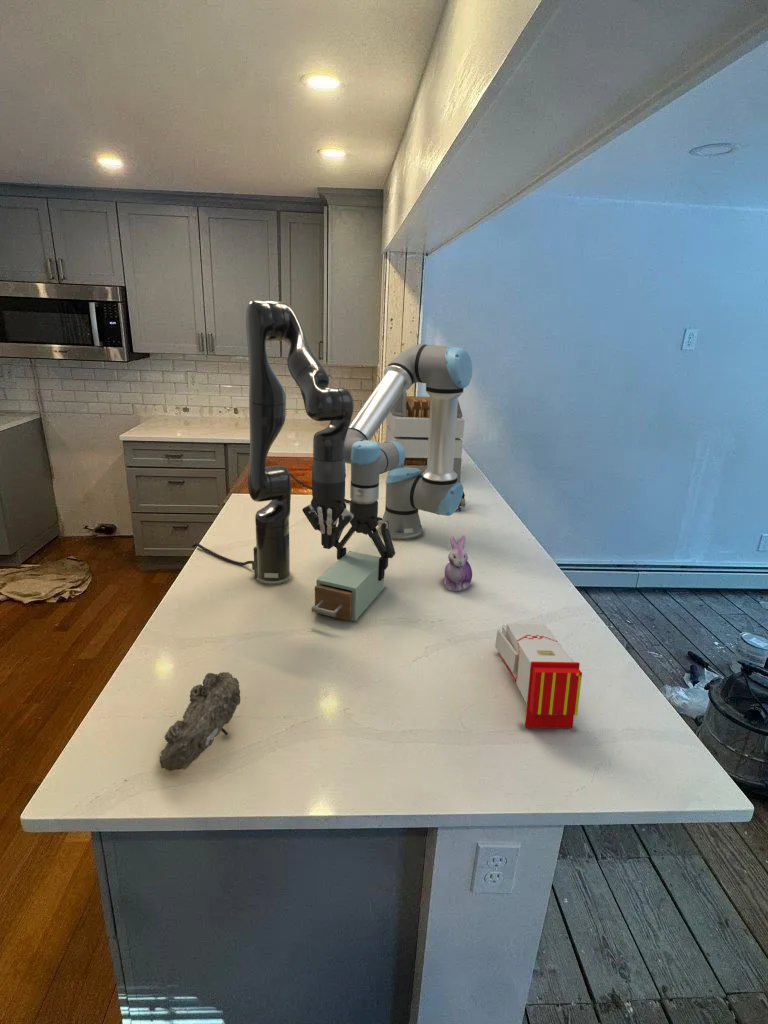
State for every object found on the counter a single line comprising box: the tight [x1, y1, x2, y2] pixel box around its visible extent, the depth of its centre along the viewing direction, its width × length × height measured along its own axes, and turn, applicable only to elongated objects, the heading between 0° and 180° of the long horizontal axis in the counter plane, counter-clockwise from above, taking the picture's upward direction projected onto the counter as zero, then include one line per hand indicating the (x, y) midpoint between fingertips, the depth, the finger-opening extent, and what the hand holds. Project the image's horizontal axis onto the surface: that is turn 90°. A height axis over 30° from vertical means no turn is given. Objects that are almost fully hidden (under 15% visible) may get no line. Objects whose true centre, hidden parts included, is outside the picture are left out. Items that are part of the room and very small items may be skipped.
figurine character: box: [457, 490, 466, 511], centre depth 229 cm, size 7×8×15 cm
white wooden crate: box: [383, 390, 465, 483], centre depth 268 cm, size 34×33×41 cm
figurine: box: [443, 534, 473, 592], centre depth 162 cm, size 9×10×15 cm
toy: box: [494, 623, 583, 729], centre depth 120 cm, size 12×13×30 cm
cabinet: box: [316, 550, 386, 622], centre depth 152 cm, size 20×11×9 cm, turn 159°
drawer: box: [311, 584, 352, 622], centre depth 148 cm, size 24×10×7 cm, turn 159°
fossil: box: [159, 671, 241, 772], centre depth 102 cm, size 22×10×15 cm
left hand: (328, 547), depth 134 cm, fingers closed
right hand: (361, 574), depth 158 cm, fingers closed on cabinet, 11 cm apart
